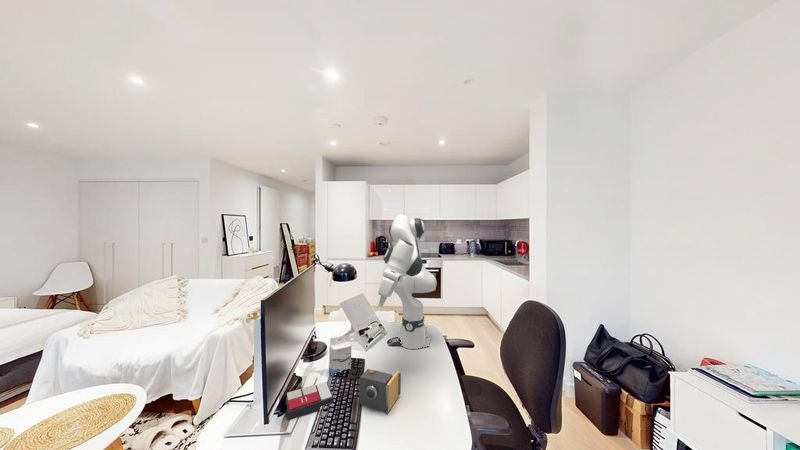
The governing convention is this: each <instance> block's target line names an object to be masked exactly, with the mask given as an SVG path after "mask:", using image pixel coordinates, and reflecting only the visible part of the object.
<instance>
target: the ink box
mask: <svg viewBox="0 0 800 450" xmlns="http://www.w3.org/2000/svg"><path fill="white" fill-rule="evenodd" d="M339 339H340V340H339ZM328 356H329V359H328V360H329V361H328V373H329V374H330V373H332V374H334V373H337V372H340V371H343V370H347V369H352V344H351V343H350V342H349V341H348V334H347V335H340V336H335V337H331V338H330V339H329V355H328Z"/></svg>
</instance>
